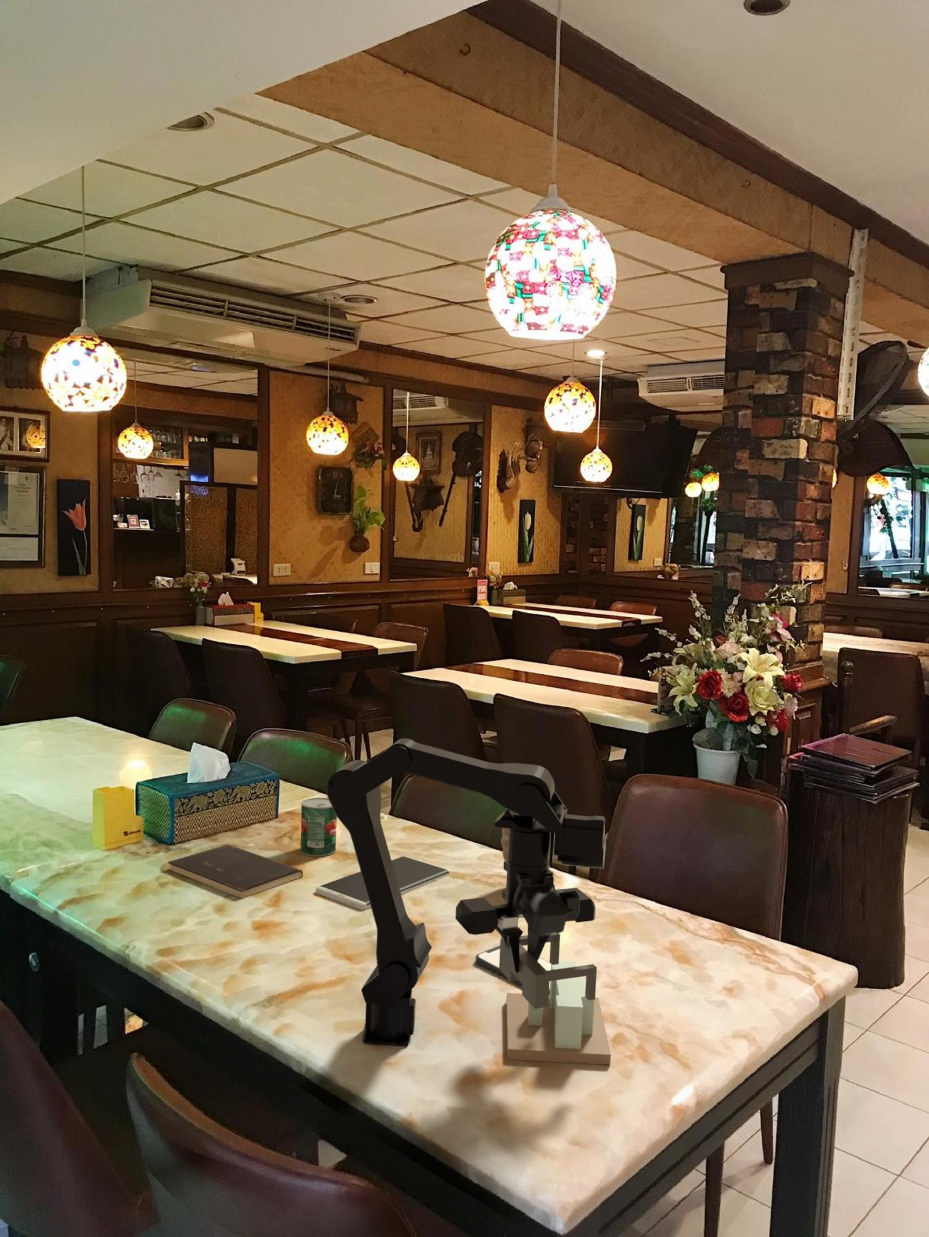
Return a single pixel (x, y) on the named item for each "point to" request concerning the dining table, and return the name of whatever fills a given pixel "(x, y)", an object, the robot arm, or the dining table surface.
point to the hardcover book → (235, 870)
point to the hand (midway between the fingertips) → (523, 970)
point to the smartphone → (407, 874)
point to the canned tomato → (318, 827)
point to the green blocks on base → (558, 1025)
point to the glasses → (543, 972)
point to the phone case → (491, 963)
